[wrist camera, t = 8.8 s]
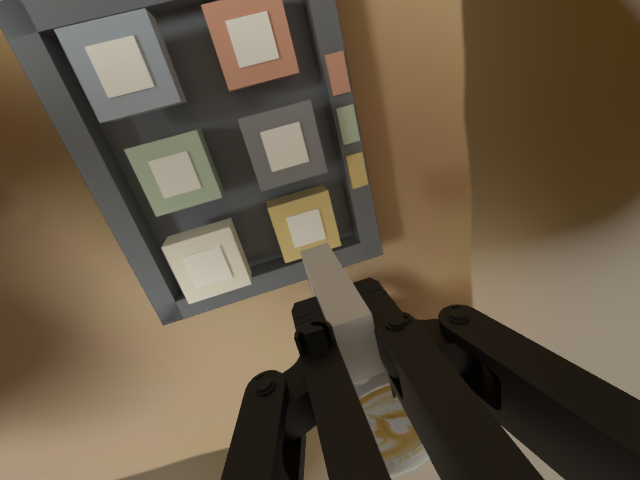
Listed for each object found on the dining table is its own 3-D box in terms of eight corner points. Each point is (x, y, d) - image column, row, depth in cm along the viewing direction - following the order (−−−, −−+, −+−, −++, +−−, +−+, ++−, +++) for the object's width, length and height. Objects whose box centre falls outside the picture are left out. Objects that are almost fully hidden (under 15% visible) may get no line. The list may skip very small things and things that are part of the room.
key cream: (193, 289, 24) (188, 305, 22) (168, 236, 23) (160, 248, 21) (251, 271, 25) (251, 285, 23) (230, 217, 23) (229, 227, 21)
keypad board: (170, 306, 28) (162, 327, 25) (19, 16, 19) (-17, 2, 17) (372, 242, 29) (384, 255, 27) (313, -51, 21) (323, -74, 18)
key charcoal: (260, 185, 23) (261, 192, 21) (238, 118, 21) (237, 119, 19) (321, 167, 23) (328, 172, 21) (305, 100, 21) (311, 99, 19)
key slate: (113, 121, 20) (98, 123, 18) (73, 37, 18) (51, 28, 16) (187, 102, 20) (180, 101, 18) (155, 18, 18) (144, 7, 16)
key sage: (163, 208, 23) (155, 217, 21) (134, 146, 22) (123, 149, 20) (224, 190, 24) (222, 198, 22) (200, 128, 22) (196, 130, 20)
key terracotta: (230, 92, 22) (228, 90, 20) (205, 14, 20) (200, 3, 18) (295, 75, 22) (299, 72, 20) (275, -3, 20) (278, -15, 18)
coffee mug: (408, 360, 35) (465, 447, 26) (322, 397, 35) (349, 499, 26) (379, 255, 30) (437, 318, 21) (276, 296, 29) (289, 380, 20)
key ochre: (282, 252, 26) (285, 264, 24) (265, 201, 25) (267, 209, 23) (334, 236, 27) (342, 246, 25) (322, 184, 25) (328, 190, 23)
